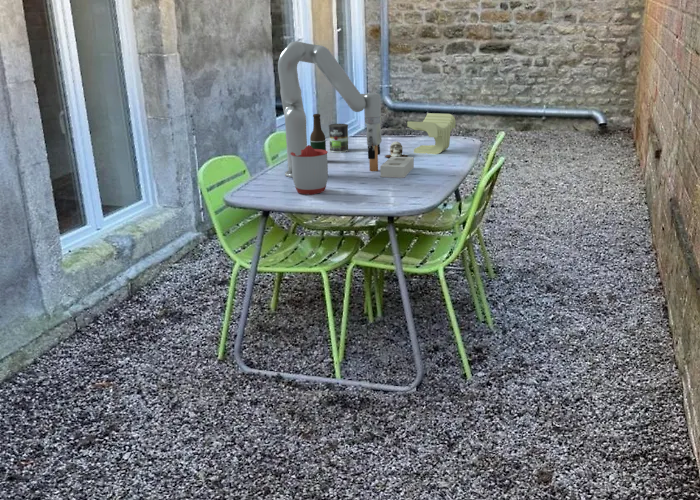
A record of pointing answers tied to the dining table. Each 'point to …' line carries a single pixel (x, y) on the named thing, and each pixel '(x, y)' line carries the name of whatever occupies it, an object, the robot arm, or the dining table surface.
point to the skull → (396, 150)
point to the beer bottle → (317, 135)
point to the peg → (374, 160)
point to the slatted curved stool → (435, 131)
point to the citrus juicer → (310, 170)
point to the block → (397, 167)
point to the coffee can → (338, 137)
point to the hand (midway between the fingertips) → (374, 156)
